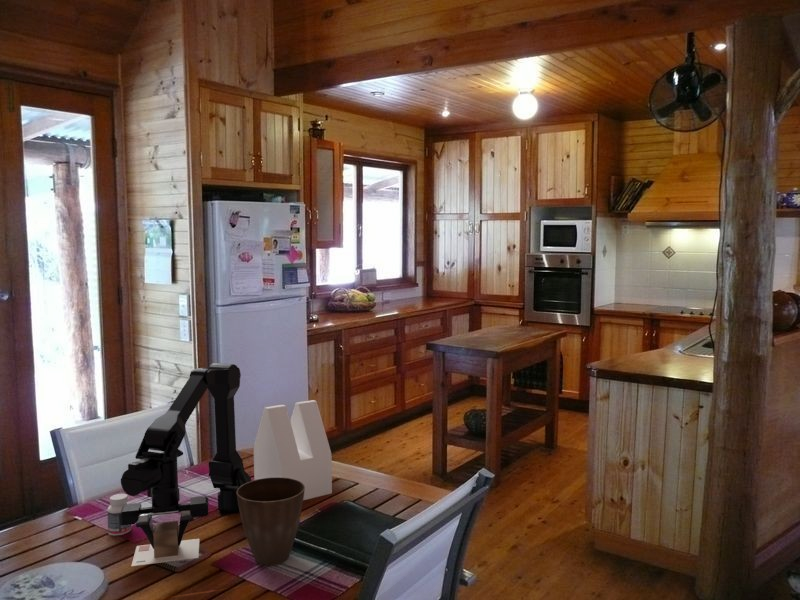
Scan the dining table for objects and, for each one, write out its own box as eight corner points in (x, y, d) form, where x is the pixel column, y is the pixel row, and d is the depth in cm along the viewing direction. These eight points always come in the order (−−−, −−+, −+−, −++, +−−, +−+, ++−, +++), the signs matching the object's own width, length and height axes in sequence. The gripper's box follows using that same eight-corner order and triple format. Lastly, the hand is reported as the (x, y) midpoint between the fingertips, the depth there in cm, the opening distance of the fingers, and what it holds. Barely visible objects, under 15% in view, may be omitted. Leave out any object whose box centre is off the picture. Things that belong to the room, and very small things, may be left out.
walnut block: (179, 545, 151) (178, 520, 150) (177, 555, 146) (176, 529, 145) (156, 548, 149) (155, 523, 149) (154, 558, 145) (153, 532, 144)
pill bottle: (122, 537, 156) (121, 501, 155) (103, 535, 157) (102, 500, 156) (135, 528, 161) (134, 493, 160) (117, 526, 162) (115, 492, 161)
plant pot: (248, 542, 153) (246, 476, 152) (310, 543, 152) (309, 477, 151) (229, 574, 138) (227, 501, 137) (299, 574, 138) (297, 502, 136)
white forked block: (331, 493, 184) (330, 407, 182) (281, 506, 175) (280, 415, 173) (301, 474, 199) (300, 394, 197) (254, 484, 191) (252, 401, 189)
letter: (199, 539, 154) (199, 538, 154) (198, 558, 145) (198, 557, 145) (136, 547, 151) (136, 545, 151) (131, 567, 141) (131, 565, 141)
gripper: (207, 464, 157) (209, 527, 158) (125, 472, 152) (127, 536, 153) (207, 480, 146) (209, 547, 147) (118, 489, 141) (120, 558, 142)
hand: (166, 546), depth 148 cm, fingers closed on walnut block, 5 cm apart
